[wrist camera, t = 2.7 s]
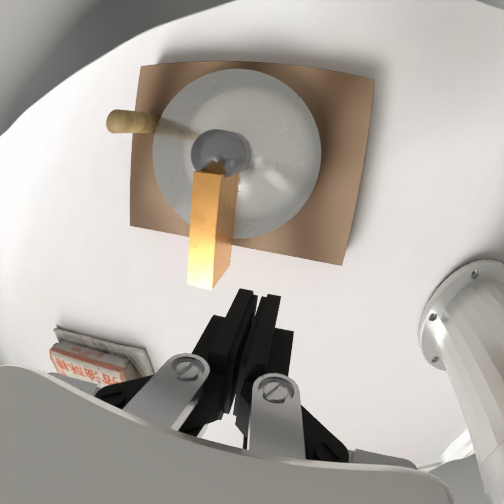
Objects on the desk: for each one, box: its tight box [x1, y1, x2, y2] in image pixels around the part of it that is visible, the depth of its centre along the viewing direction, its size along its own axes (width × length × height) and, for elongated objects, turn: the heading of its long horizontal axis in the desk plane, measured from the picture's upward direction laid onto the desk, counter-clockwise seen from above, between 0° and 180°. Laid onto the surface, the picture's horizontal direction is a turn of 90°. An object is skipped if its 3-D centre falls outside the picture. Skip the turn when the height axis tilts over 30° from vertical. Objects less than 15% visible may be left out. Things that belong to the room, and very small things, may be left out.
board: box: [106, 61, 374, 266], centre depth 18 cm, size 18×14×7 cm
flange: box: [152, 69, 321, 290], centre depth 18 cm, size 14×12×5 cm
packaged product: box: [49, 328, 154, 388], centre depth 34 cm, size 18×5×10 cm
